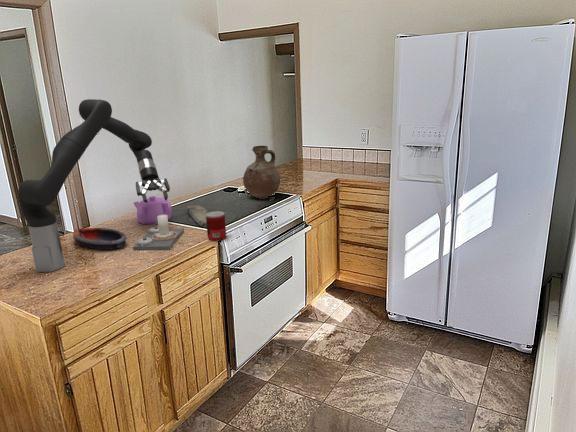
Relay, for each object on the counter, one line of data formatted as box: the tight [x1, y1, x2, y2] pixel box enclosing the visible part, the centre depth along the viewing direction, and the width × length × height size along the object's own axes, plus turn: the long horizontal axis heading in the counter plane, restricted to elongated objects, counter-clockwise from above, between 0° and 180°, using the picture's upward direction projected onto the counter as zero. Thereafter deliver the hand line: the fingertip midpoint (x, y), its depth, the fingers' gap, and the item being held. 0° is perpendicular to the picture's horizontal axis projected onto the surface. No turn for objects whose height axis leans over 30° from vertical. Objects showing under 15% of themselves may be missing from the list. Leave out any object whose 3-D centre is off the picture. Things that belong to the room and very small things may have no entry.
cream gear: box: [155, 215, 174, 239], centre depth 187 cm, size 8×8×10 cm
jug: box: [242, 145, 281, 199], centre depth 253 cm, size 22×22×30 cm
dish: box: [72, 227, 127, 250], centre depth 187 cm, size 16×31×5 cm, turn 55°
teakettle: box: [133, 195, 173, 225], centre depth 217 cm, size 17×17×12 cm
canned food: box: [206, 210, 227, 241], centre depth 188 cm, size 8×8×11 cm
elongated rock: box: [186, 204, 209, 228], centre depth 220 cm, size 35×5×10 cm
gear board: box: [132, 225, 185, 251], centre depth 188 cm, size 23×15×4 cm, turn 178°
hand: (156, 200), depth 193 cm, fingers open, 8 cm apart
